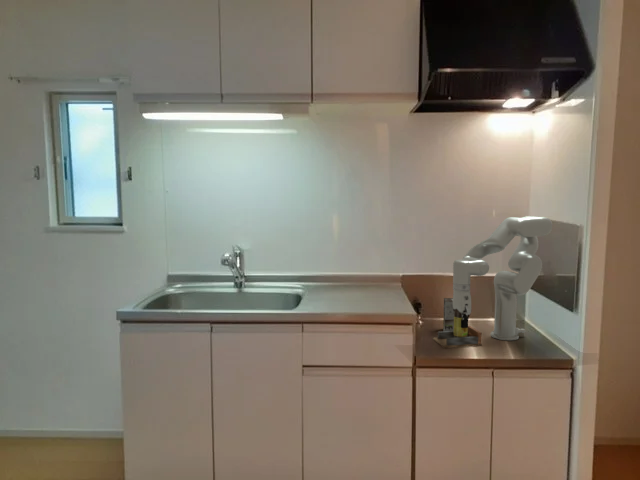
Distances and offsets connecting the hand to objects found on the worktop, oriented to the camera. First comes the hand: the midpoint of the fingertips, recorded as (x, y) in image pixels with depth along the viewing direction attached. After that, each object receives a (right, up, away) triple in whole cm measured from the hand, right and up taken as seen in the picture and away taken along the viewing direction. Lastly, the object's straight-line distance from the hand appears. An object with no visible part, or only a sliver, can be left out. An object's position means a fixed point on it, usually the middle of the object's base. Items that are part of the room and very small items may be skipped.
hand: (461, 325), depth 217 cm
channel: (-2, -8, +1) cm, 8 cm away
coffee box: (0, -6, +17) cm, 18 cm away
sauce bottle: (0, -7, +1) cm, 7 cm away
